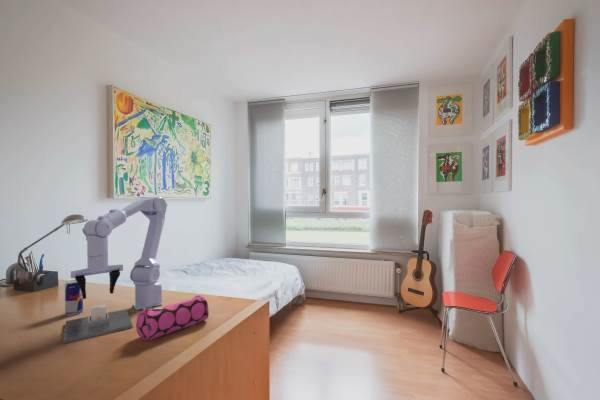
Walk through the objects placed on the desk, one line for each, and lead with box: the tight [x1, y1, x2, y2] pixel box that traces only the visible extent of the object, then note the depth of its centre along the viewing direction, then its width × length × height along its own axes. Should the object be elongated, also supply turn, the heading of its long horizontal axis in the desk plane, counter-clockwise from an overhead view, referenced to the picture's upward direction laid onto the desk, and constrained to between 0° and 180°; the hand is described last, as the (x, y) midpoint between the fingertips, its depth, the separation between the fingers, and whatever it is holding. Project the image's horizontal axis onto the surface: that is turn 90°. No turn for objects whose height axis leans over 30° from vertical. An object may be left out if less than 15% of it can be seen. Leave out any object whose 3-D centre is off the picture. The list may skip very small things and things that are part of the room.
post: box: [90, 303, 107, 321], centre depth 100 cm, size 4×4×6 cm
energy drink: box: [64, 279, 84, 317], centre depth 112 cm, size 5×5×12 cm
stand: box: [62, 308, 134, 345], centre depth 100 cm, size 18×18×4 cm
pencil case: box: [135, 294, 210, 341], centre depth 96 cm, size 21×10×10 cm, turn 142°
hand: (98, 295), depth 100 cm, fingers open, 7 cm apart
